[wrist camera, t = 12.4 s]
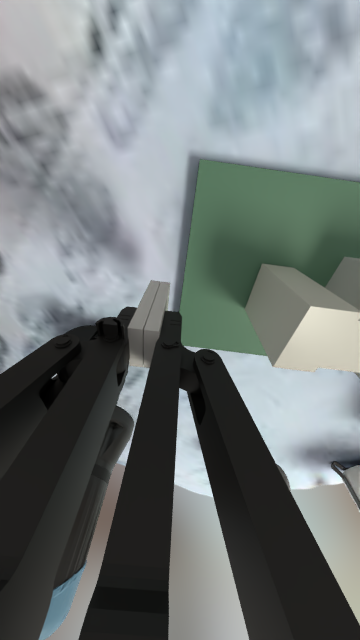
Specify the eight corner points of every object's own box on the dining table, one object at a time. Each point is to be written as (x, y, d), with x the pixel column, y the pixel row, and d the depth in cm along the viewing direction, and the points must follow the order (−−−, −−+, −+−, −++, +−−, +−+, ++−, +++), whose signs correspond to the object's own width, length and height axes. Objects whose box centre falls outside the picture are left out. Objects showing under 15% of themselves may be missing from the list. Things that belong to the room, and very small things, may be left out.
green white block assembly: (175, 338, 24) (168, 403, 16) (199, 162, 14) (209, 111, 6) (376, 363, 24) (460, 437, 17) (542, 212, 14) (954, 225, 6)
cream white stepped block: (244, 309, 19) (272, 366, 12) (262, 263, 16) (310, 306, 10) (307, 317, 19) (368, 379, 13) (335, 273, 16) (433, 322, 10)
